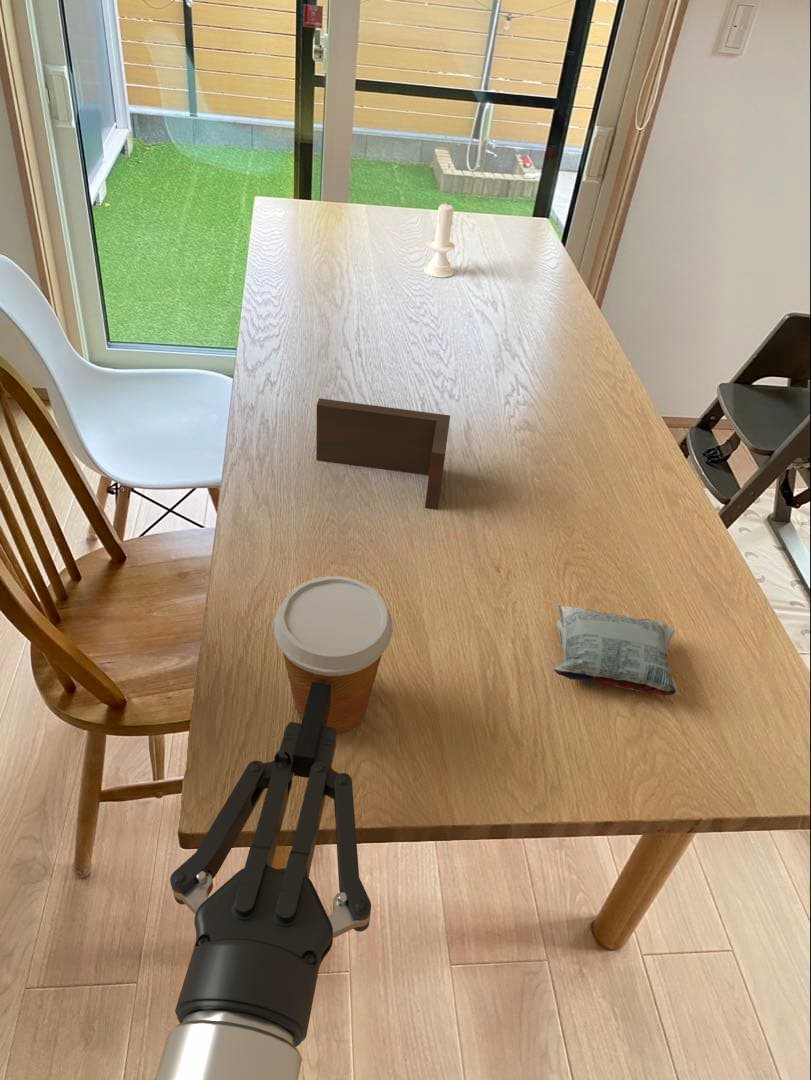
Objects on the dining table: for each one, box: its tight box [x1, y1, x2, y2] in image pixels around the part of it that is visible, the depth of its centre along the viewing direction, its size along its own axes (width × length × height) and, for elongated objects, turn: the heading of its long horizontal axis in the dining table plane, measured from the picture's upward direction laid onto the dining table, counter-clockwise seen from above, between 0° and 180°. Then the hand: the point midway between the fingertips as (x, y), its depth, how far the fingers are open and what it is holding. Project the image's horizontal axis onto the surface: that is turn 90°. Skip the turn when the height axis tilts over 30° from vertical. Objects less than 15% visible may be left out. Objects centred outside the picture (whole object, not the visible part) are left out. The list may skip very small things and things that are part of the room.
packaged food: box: [553, 601, 681, 697], centre depth 74 cm, size 9×12×5 cm
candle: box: [423, 201, 456, 279], centre depth 136 cm, size 5×5×12 cm
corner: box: [315, 397, 451, 510], centre depth 92 cm, size 8×16×8 cm, turn 83°
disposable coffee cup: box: [273, 575, 394, 734], centre depth 66 cm, size 10×10×12 cm
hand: (321, 694), depth 61 cm, fingers closed
